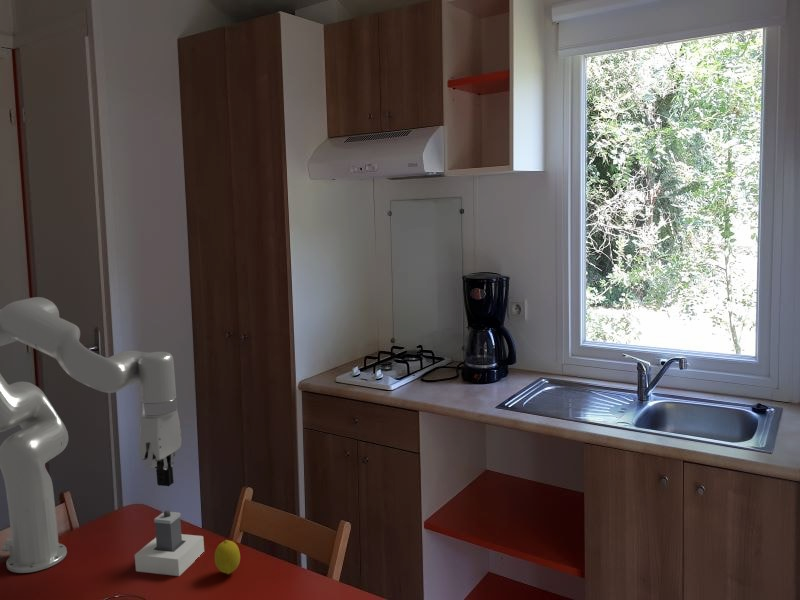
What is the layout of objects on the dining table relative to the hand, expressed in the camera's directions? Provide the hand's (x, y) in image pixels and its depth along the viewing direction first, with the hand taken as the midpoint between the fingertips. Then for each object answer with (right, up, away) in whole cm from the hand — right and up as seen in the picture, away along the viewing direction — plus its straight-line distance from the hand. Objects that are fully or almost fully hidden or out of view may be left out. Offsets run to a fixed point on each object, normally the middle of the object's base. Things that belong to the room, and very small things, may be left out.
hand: (165, 484), depth 157 cm
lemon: (+15, -19, -4) cm, 25 cm away
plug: (0, -18, +2) cm, 18 cm away
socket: (0, -19, +3) cm, 19 cm away
